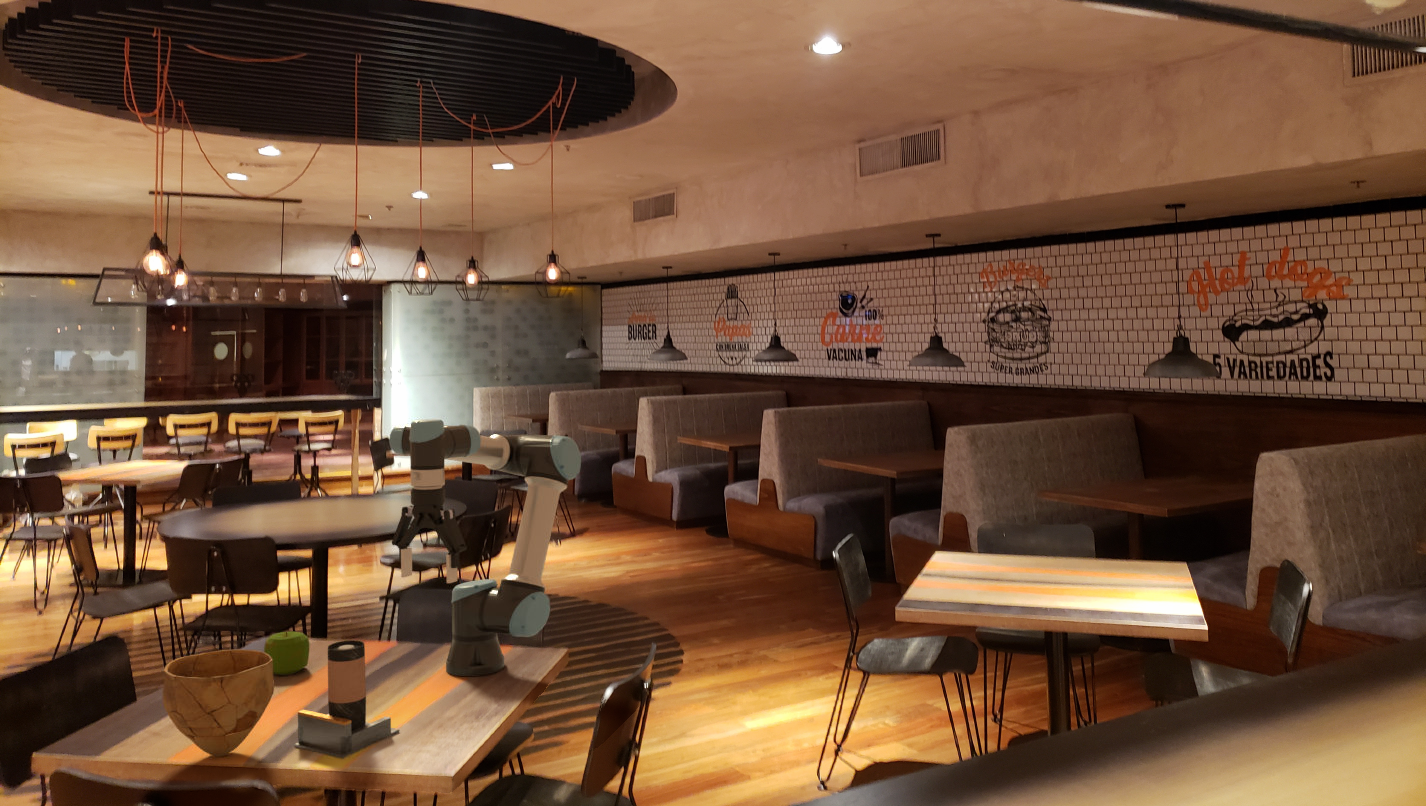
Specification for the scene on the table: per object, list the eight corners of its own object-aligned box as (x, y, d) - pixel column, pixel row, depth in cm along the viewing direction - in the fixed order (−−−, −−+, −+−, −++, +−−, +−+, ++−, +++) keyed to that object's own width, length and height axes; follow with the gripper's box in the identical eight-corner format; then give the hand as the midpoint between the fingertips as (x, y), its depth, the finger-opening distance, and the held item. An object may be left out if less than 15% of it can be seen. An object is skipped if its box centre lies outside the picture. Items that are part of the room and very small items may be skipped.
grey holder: (353, 721, 221) (352, 690, 221) (399, 732, 215) (398, 700, 215) (294, 746, 207) (293, 713, 207) (342, 758, 201) (341, 724, 200)
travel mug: (374, 732, 213) (372, 642, 212) (350, 745, 206) (348, 652, 205) (345, 728, 216) (343, 638, 215) (321, 740, 209) (319, 648, 208)
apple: (318, 669, 259) (317, 628, 259) (281, 680, 250) (280, 638, 250) (292, 662, 265) (292, 622, 265) (256, 673, 256) (255, 632, 256)
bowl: (219, 732, 215) (217, 642, 214) (296, 742, 209) (294, 650, 209) (139, 769, 195) (136, 671, 195) (221, 782, 190) (219, 680, 189)
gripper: (375, 486, 225) (376, 577, 226) (459, 492, 214) (460, 587, 215) (398, 482, 232) (400, 570, 233) (481, 488, 221) (482, 581, 222)
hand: (429, 579), depth 224 cm, fingers open, 13 cm apart
